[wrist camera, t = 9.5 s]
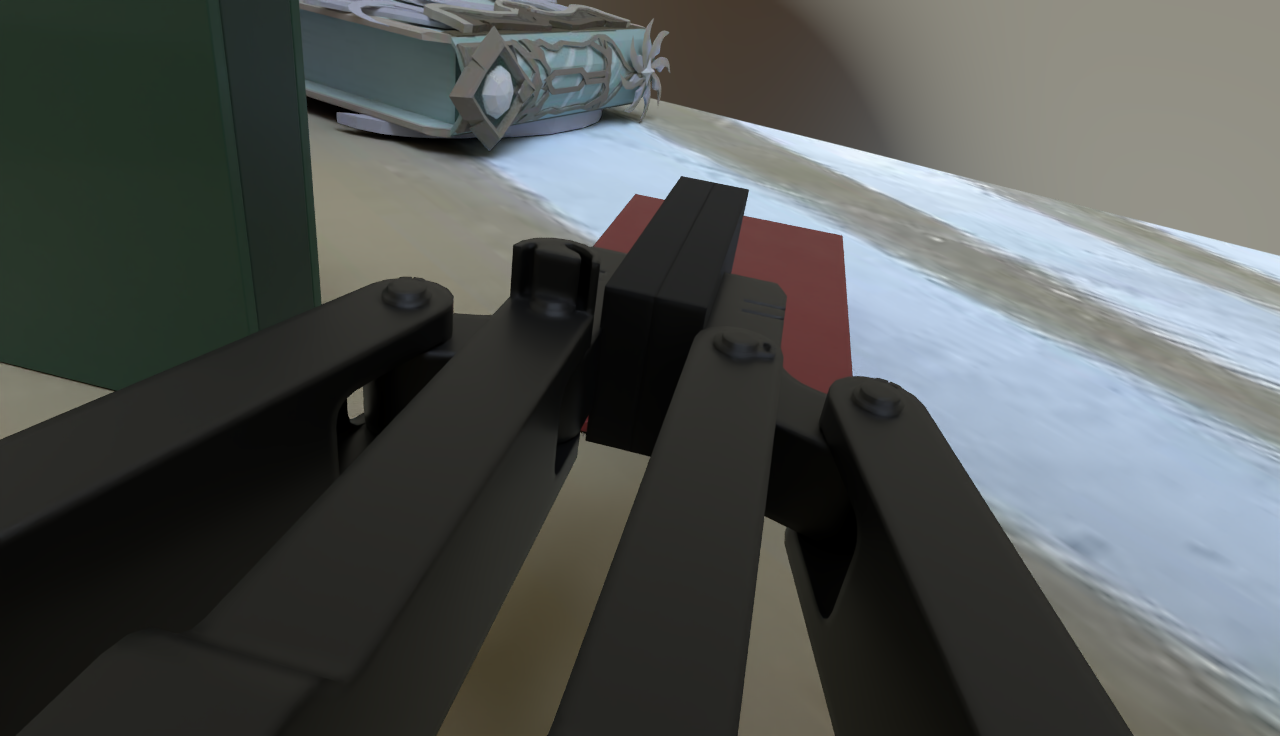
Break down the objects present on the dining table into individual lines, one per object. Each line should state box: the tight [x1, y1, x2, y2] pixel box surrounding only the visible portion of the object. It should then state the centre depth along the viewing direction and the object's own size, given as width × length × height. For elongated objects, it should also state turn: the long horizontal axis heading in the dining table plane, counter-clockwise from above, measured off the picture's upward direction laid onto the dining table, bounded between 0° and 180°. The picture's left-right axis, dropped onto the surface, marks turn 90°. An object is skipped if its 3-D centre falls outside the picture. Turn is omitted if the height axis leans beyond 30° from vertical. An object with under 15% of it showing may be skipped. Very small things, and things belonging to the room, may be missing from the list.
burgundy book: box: [580, 194, 853, 432], centre depth 30 cm, size 3×10×16 cm
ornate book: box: [299, 0, 670, 151], centre depth 59 cm, size 23×10×30 cm
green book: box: [0, 0, 322, 391], centre depth 20 cm, size 3×11×17 cm, turn 78°
